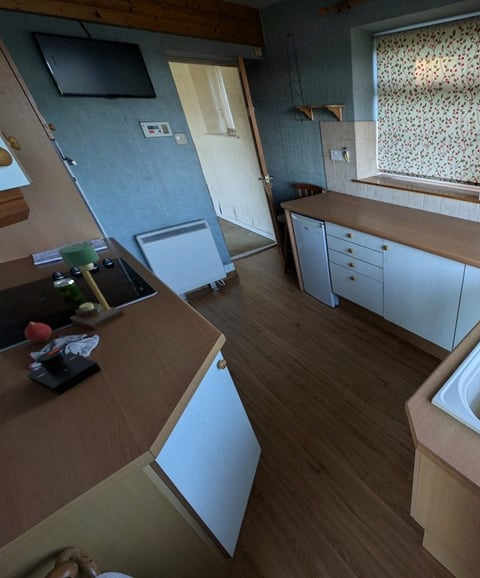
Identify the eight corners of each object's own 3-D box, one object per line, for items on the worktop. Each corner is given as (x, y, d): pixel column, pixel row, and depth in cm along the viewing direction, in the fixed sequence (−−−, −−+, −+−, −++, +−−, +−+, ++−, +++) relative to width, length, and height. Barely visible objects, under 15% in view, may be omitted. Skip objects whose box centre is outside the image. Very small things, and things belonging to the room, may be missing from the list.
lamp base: (72, 322, 108) (66, 313, 106) (102, 308, 116) (97, 299, 114) (94, 330, 104) (88, 321, 102) (124, 314, 112) (119, 306, 110)
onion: (29, 344, 98) (13, 325, 93) (51, 333, 102) (37, 315, 98) (38, 348, 96) (23, 329, 92) (60, 337, 100) (46, 319, 96)
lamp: (93, 314, 105) (52, 250, 92) (117, 303, 111) (82, 241, 99) (107, 319, 102) (67, 254, 90) (131, 307, 109) (97, 244, 96)
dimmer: (33, 382, 83) (26, 374, 82) (75, 358, 91) (69, 351, 90) (59, 395, 79) (52, 387, 78) (101, 369, 87) (95, 362, 86)
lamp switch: (79, 310, 108) (77, 306, 107) (90, 305, 111) (88, 301, 110) (85, 312, 107) (83, 308, 106) (96, 307, 110) (94, 303, 109)
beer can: (76, 304, 118) (59, 278, 112) (91, 303, 119) (75, 277, 113) (67, 312, 114) (48, 285, 108) (82, 310, 114) (65, 284, 108)
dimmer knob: (53, 373, 82) (43, 361, 80) (43, 370, 83) (33, 357, 81) (71, 363, 86) (62, 350, 83) (62, 359, 87) (53, 347, 84)
